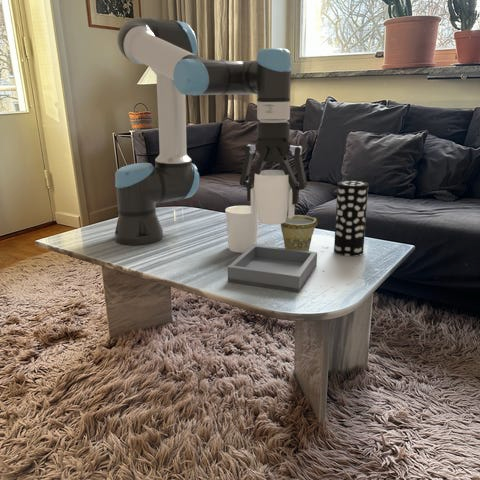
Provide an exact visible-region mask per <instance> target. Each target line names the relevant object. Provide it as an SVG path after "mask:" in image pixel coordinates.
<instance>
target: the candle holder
mask: <svg viewBox="0 0 480 480" xmlns="http://www.w3.org/2000/svg"><path fill="white" fill-rule="evenodd" d="M224 211H225V219H226V231H227V232H226V233H227V235H226V236H227V246H228V250H229V251H231V252H233V253H239V254H243V253H244V252H245V251H246V250H248V249H249V248H250V247H251V246H252V245H258V244H257V243H258V228H259V218H258V211H257V213H256V214H255V215H251V205H233V206H228V207H226V208H225V209H224Z"/></svg>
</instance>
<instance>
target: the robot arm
mask: <svg viewBox="0 0 480 480" xmlns="http://www.w3.org/2000/svg"><path fill="white" fill-rule="evenodd" d="M116 40H117V45H118V49H119V51H120V53H121V54H122V55H123V56H124V57H125V59H127V60H128V61H130V62H131V63H134V64H137V65H145V66H148V68H150V70H151V71H153V73H154V74H155V75H156V95H157V96H156V97H157V116H158V122H157V123H158V141H159V142H158V144H159V147H158V148H159V154H158V156H157V157H155V161H154V162H155V163H154V164H155V166H153V164H152V163H151V162H150V163H149V162H140V163H132V164H128V165H125V166H122V167H121V166H120V168H118V169H117V170H116V171H115V175H114V179H115V180H114V182H115V183H114V186H115V192H116V201H117V203H116V204H117V209H118V210H117V213H118V217H117V218H118V219H117V222H116V226H115V230H114V238H115V239H114V240H115V242H116V243H118V244H121V245H127V246H128V245H129V246H139V245H140V246H141V245H148V244H151V243H152V244H153V243H156V242H159V241H161V240H162V239H163V238H164V230H163V227H162V225H161V223H160V220H159V218H158V215H157V206H156V204H161V203H168V202H173V201H182V200H184V199H188V198H191V197H193V196H194V195H195V194H196V192H198V191H197V190H198V188H199V183H200V173H199V172H198V168H197V167H198V166H196V164H195V163H192V158H191V157H190V156H189V155H188V153H187V114H186V113H187V112H186V111H187V110H186V109H187V108H186V107H187V106H186V96H193V97H197V96H214V95H215V96H217V95H220V96H221V95H223V96H224V95H226V96H227V95H229V96H231V95H236V96H240V95H241V96H244V95H256V96H257V97H256V101H257V105H256V106H257V108H256V109H257V110H256V111H257V112H256V113H257V115H256V116H257V117H256V118H257V120H259V122H257V124H256V143H255V144H251V143H250V144H246V145H244V146H243V147H244V148H243V149H244V159H243V164H242V169H241V175H240V179H239V185H240V186H243V187H245V188H246V200H247V202H250V206H251V215H255V214H256V213H257V204H256V197H255V189H254V178H255V174H258V175H260V173H261V171H262V170H263V168H264V166H265V165H266V163H270V162H273V163H278V164H279V166H281V168H282V170H283V171H284V173H285V175H288V180H289V184H290V186H291V191H289V204H288V210H287V216H288V218H289V219H292V218H293V217H294V215H295V206H296V205H298V203H299V200H300V191H301V190H304V189H306V188H307V186H308V183H307V182H308V181H307V178H306V173H305V167H304V162H303V156H302V155H303V146H302V145H299V146H296V145H292V144H291V141H290V124H291V123H290V122H289V121H288V120H290V119H291V79H292V76H291V75H292V71H293V70H292V58H291V52H290V51H289V50H288V49H287V48H278V47H277V48H276V47H275V48H274V47H272V48H262V49H259V50H258V51H257V55H256V60H247V61H246V60H221V59H219V60H218V59H216V60H215V59H206V58H203V57H201V56H198V41H197V37H196V34H195V31H194V30H193V29H192V27H191V26H190V24H188V23H187V22H184V21H178V20H176V19H175V20H174V19H171V20H170V19H163V18H161V19H160V18H149V17H148V18H146V17H135V18H132V19H130V20H128V21H126V22H125V23H123V25H122V26H121V27H120V28H119V30H118V34H117V39H116ZM256 151H257V153H258V154H259V157H258V159H257V161H256V165H255V167H254V169H253V171H252V173H251V175H250V172H251V169H252V168H251V167H252V162H253V157H254V154H255V153H256ZM289 152H291V154H292V156H293V161H294V166H295V171H296V176H295V174H294V171H293V169H292V167H291V165H290V163H289V162H290V161H289V157H287V155H288V154H289ZM296 177H297V178H296Z"/></svg>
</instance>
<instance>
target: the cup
mask: <svg viewBox="0 0 480 480" xmlns="http://www.w3.org/2000/svg"><path fill="white" fill-rule="evenodd" d="M254 189H255V197H256V204H257V211H258V223H261V224H262V225H263V224H264V225H269V226H271V225H275V226H276V225H281V224H282V223H284V222H285V221H286V216H288V208H289V191H291V190H292V189H291V186H290V184H289V180H288V175H285V173H284V171H283V169H282V170H281V169H264V170H263V169H262V171H261V173H260V175H258V174H255V178H254Z"/></svg>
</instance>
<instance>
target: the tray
mask: <svg viewBox="0 0 480 480" xmlns="http://www.w3.org/2000/svg"><path fill="white" fill-rule="evenodd" d="M317 262H318V251H311V250H309V251H303V250H294V249H286V248H285V247H284V248H283V247H275V246H269V245H268V246H267V245H258V244H257V245H252V246H251V247H250V248H249V249H248V250H246V251H245V252H244V253H241V255H239V256H238V257H237V258H236V259H235V260H234V261H232V262H231V263H230V264H229V265H228V266H227V283H233V284H240V285H246V286H252V287H260V288H267V289H273V290H279V291H285V292H291V293H300V292H301V291H302V289H303V287H304V285H306V283H307V281H308V280H309V278H310V277H311V275H312V274H313V272H314V271H315V270H316V268H317V264H318V263H317Z"/></svg>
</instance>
